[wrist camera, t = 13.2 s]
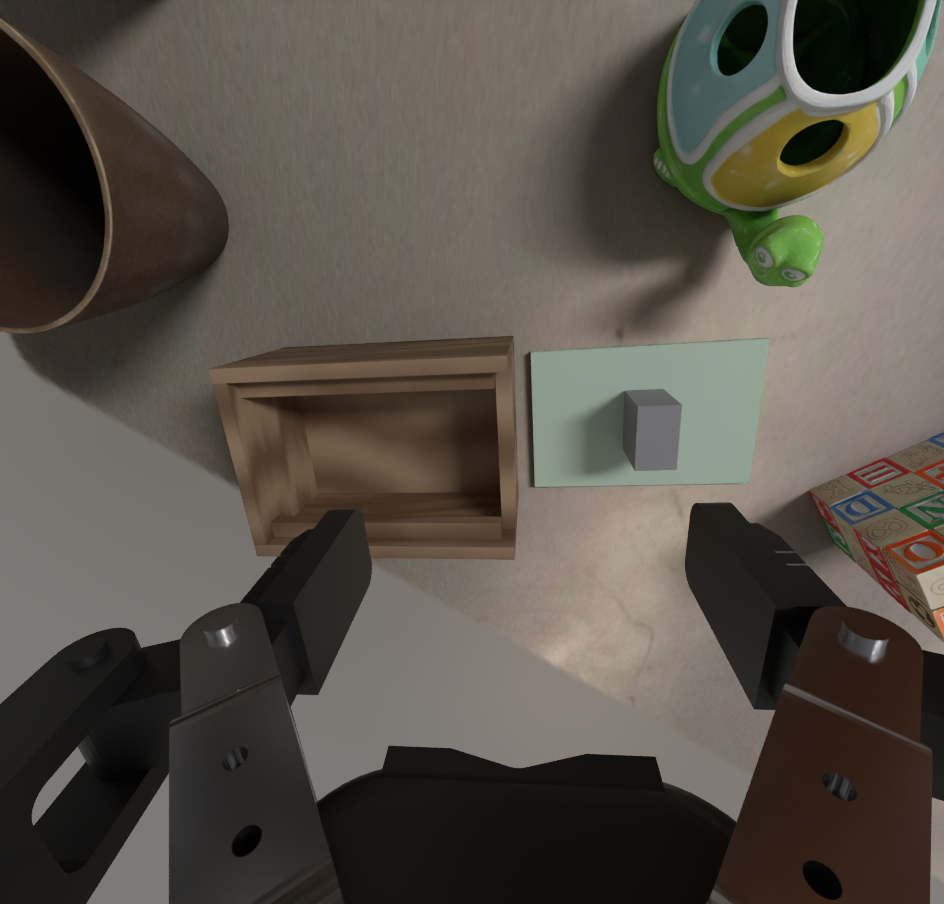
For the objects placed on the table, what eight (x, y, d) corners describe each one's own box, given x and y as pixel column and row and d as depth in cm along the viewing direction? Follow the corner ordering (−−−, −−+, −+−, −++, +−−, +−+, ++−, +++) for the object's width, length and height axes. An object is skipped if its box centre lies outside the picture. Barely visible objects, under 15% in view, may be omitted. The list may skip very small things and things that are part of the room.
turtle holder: (641, 294, 36) (691, 301, 25) (650, -6, 29) (722, -176, 18) (818, 278, 34) (958, 278, 23) (867, -45, 28) (1091, -261, 17)
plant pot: (251, 95, 34) (34, -46, 19) (293, 306, 39) (147, 324, 24) (74, 121, 36) (-245, 11, 21) (136, 318, 41) (-87, 341, 26)
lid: (530, 350, 39) (530, 363, 33) (762, 336, 36) (806, 348, 30) (534, 481, 43) (535, 513, 37) (743, 477, 40) (778, 511, 35)
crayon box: (284, 347, 40) (208, 369, 31) (513, 335, 38) (506, 355, 28) (314, 497, 46) (257, 555, 36) (518, 497, 43) (514, 559, 33)
